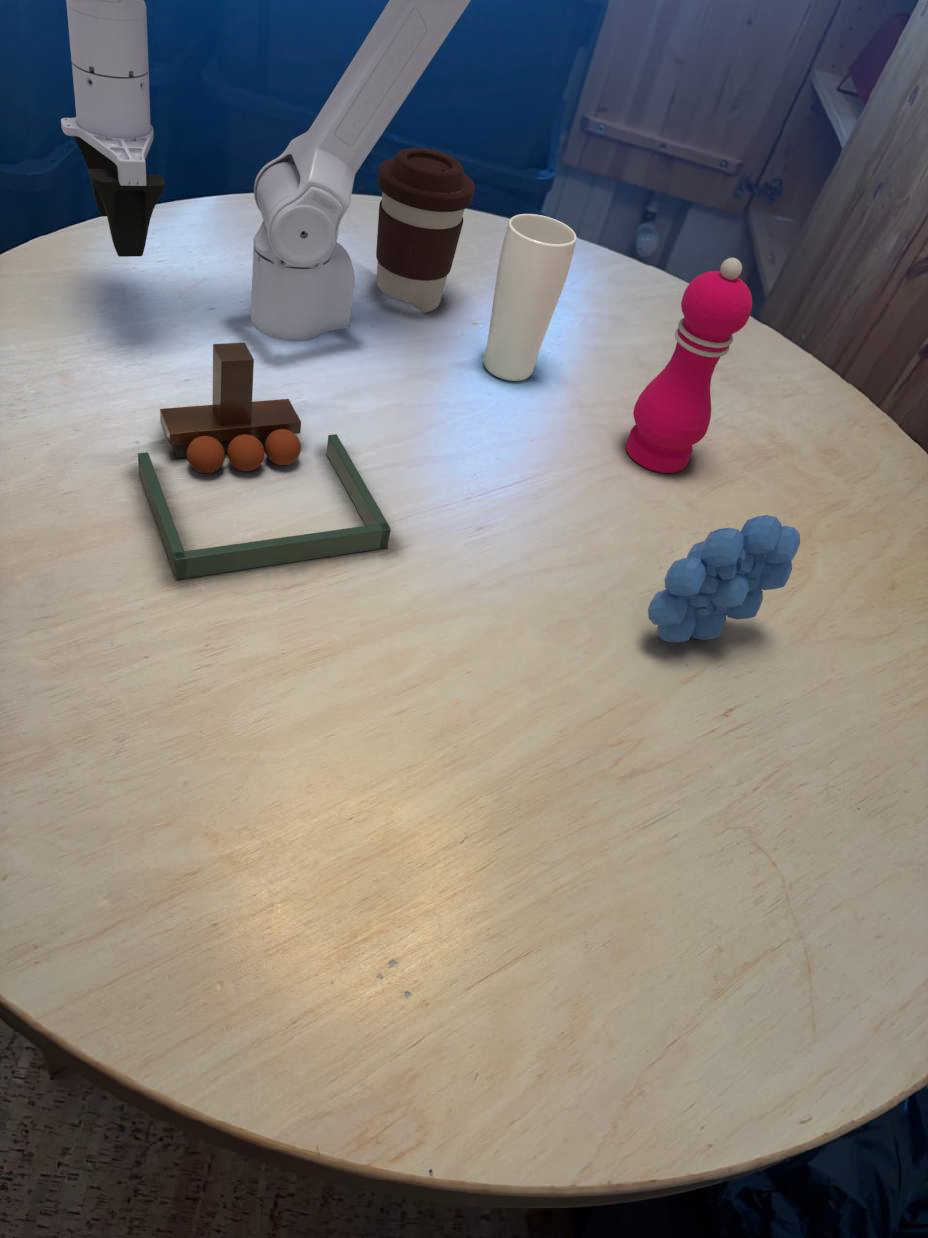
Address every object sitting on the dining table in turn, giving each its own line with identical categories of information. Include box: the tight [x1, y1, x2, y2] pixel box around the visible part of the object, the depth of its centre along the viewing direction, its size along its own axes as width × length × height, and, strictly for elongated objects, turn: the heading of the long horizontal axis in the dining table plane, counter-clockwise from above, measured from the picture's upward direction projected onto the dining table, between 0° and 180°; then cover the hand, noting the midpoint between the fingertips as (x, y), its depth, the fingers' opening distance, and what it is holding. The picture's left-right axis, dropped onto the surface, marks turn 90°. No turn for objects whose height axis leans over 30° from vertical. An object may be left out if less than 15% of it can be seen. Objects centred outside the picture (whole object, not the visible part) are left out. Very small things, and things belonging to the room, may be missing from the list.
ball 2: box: [264, 429, 302, 466], centre depth 80 cm, size 3×3×3 cm
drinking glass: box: [483, 213, 578, 382], centre depth 94 cm, size 7×7×15 cm
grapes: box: [647, 514, 801, 644], centre depth 72 cm, size 12×7×12 cm, turn 112°
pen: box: [137, 433, 392, 581], centre depth 75 cm, size 13×17×2 cm
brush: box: [159, 342, 302, 459], centre depth 79 cm, size 4×11×9 cm, turn 115°
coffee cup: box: [375, 147, 476, 314], centre depth 101 cm, size 10×10×15 cm
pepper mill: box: [625, 257, 753, 474], centre depth 86 cm, size 7×7×20 cm
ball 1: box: [186, 436, 226, 474], centre depth 77 cm, size 3×3×3 cm
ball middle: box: [226, 434, 266, 472], centre depth 78 cm, size 3×3×3 cm
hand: (120, 234), depth 84 cm, fingers open, 7 cm apart
